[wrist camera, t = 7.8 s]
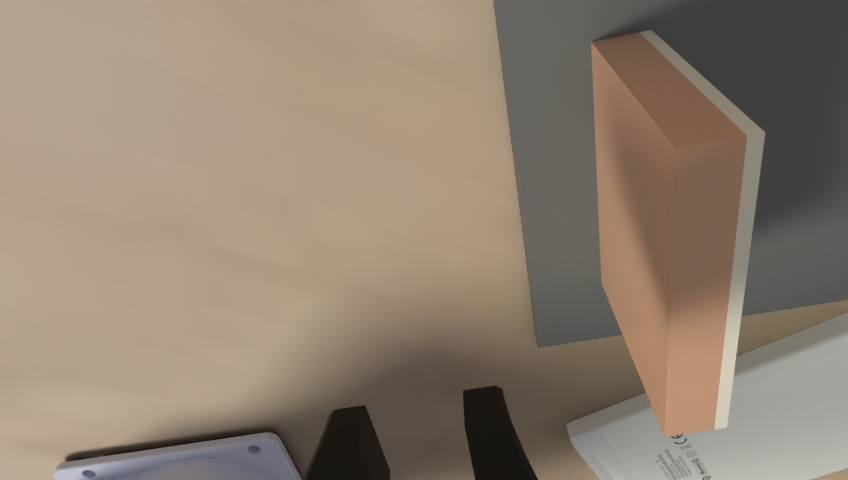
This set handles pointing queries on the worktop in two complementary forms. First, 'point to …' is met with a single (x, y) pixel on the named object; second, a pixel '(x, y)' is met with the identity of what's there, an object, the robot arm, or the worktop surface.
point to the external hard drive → (739, 420)
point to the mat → (739, 82)
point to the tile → (674, 223)
